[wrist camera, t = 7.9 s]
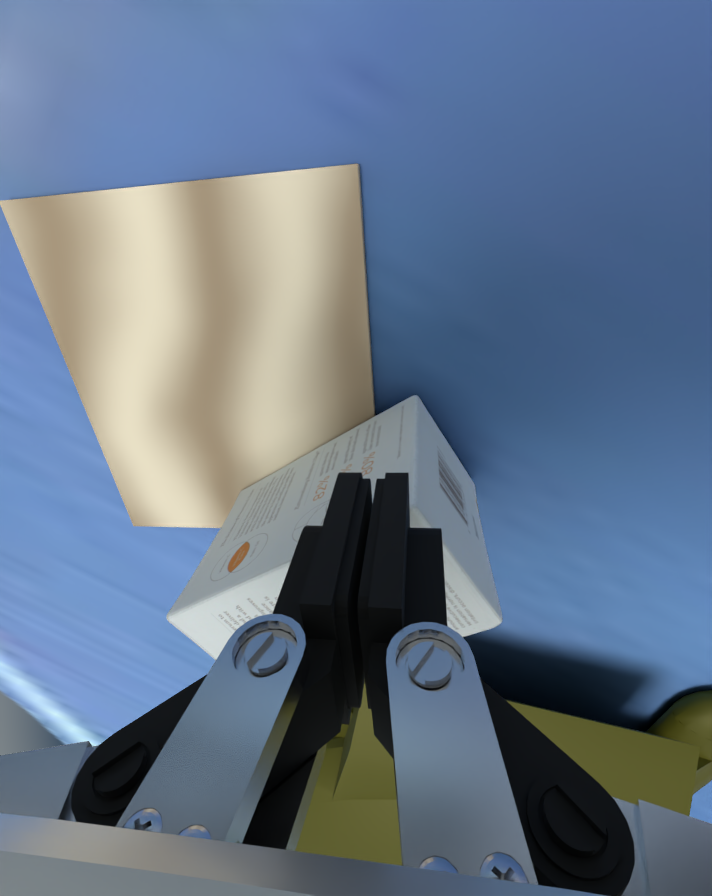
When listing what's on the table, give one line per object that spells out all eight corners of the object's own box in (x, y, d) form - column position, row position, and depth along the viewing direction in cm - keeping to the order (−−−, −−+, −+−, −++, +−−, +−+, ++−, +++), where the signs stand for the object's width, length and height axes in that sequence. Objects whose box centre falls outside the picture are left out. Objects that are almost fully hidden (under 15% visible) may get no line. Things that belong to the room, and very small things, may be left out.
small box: (479, 483, 21) (305, 560, 25) (416, 388, 19) (239, 488, 23) (507, 632, 14) (260, 704, 18) (413, 507, 12) (159, 621, 16)
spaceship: (265, 569, 27) (193, 743, 18) (771, 688, 26) (939, 924, 18) (238, 812, 44) (195, 957, 36) (538, 886, 44) (566, 1050, 35)
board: (359, 164, 15) (357, 163, 15) (382, 525, 23) (381, 531, 23) (9, 200, 17) (-2, 201, 17) (138, 520, 25) (133, 526, 25)
